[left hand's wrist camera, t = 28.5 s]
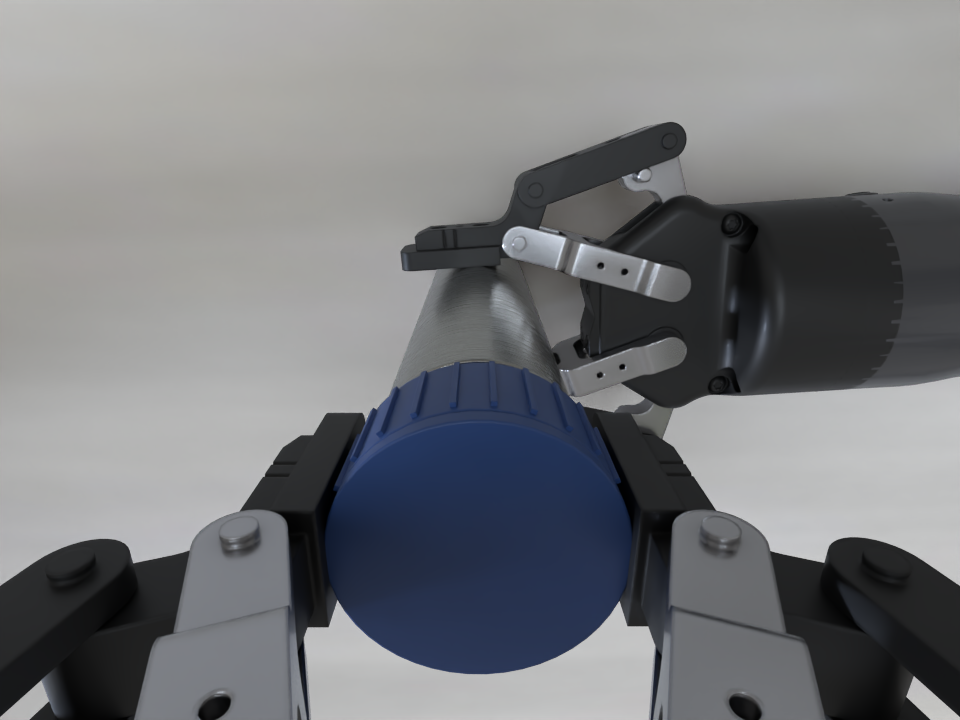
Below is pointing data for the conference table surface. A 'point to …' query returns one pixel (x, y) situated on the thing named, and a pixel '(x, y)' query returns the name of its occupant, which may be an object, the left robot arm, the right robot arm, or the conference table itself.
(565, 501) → the lid
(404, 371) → the metal bottle
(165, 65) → the conference table surface
